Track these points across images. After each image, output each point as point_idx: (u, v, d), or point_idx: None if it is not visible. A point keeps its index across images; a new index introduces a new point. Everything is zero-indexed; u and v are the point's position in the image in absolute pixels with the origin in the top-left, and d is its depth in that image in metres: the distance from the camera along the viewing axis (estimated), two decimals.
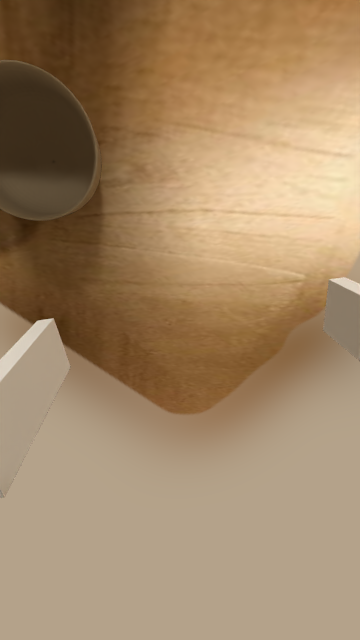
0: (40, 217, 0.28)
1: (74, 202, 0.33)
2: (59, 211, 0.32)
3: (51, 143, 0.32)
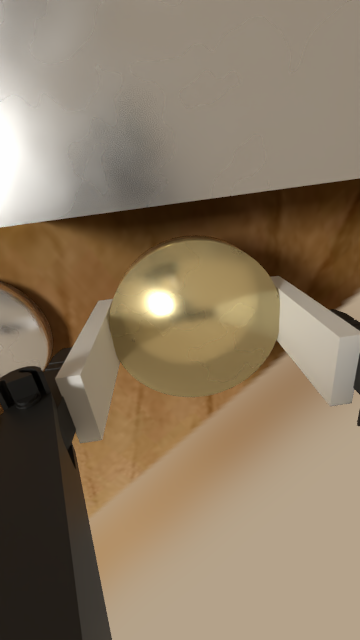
0: None
1: None
2: None
3: None
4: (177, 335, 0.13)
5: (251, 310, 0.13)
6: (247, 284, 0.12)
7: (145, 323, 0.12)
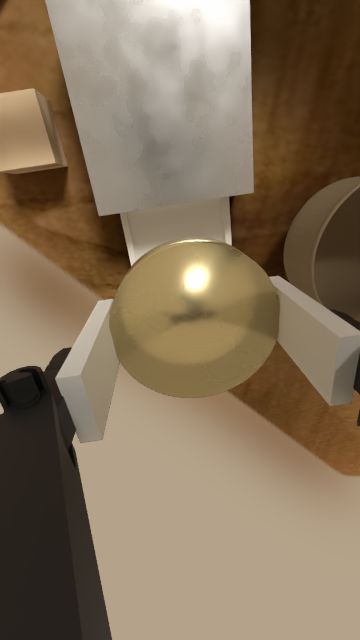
0: None
1: (347, 287, 0.30)
2: (337, 299, 0.29)
3: None
4: (177, 336, 0.13)
5: (251, 311, 0.13)
6: (247, 285, 0.12)
7: (145, 324, 0.12)
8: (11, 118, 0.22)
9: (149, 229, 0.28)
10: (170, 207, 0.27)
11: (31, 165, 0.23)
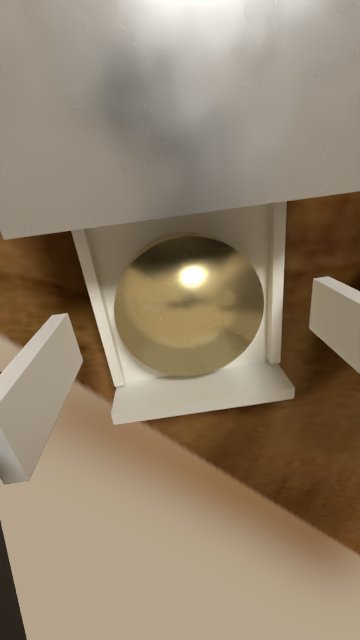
0: None
1: None
2: None
3: None
4: (173, 319, 0.15)
5: (238, 297, 0.14)
6: (234, 274, 0.14)
7: (145, 309, 0.14)
8: None
9: (131, 258, 0.15)
10: (171, 218, 0.14)
11: None
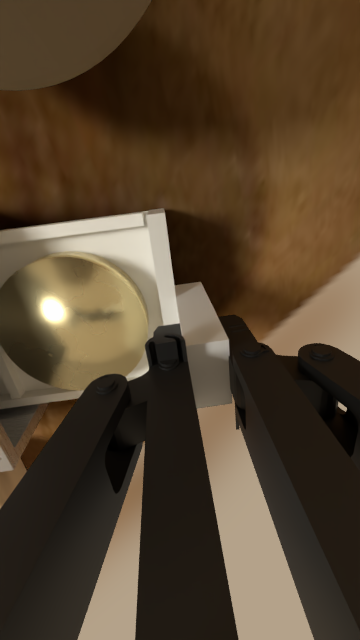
0: None
1: None
2: None
3: None
4: (83, 345, 0.15)
5: (39, 291, 0.14)
6: (17, 302, 0.14)
7: (80, 368, 0.16)
8: None
9: None
10: None
11: None
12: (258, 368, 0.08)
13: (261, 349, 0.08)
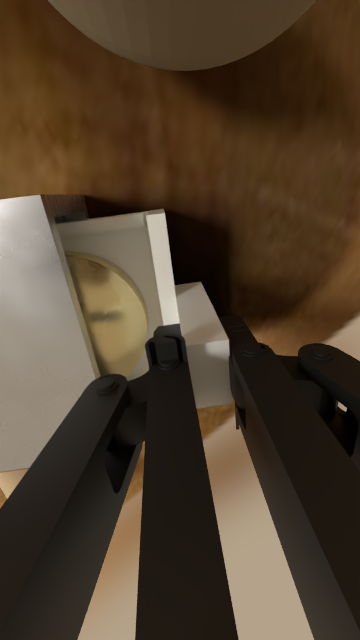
0: None
1: None
2: None
3: None
4: None
5: None
6: None
7: None
8: None
9: None
10: None
11: None
12: (258, 368, 0.08)
13: (261, 349, 0.08)
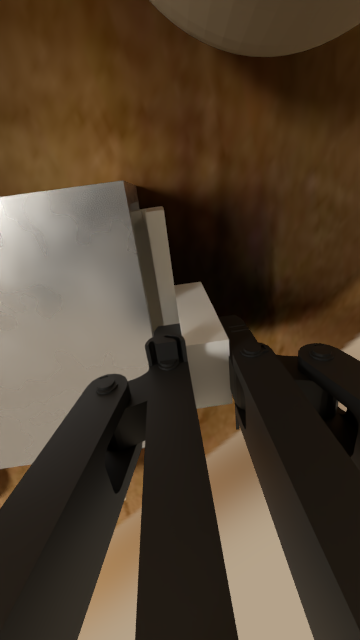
0: None
1: None
2: None
3: None
4: None
5: None
6: None
7: None
8: None
9: None
10: None
11: None
12: (258, 368, 0.08)
13: (261, 349, 0.08)
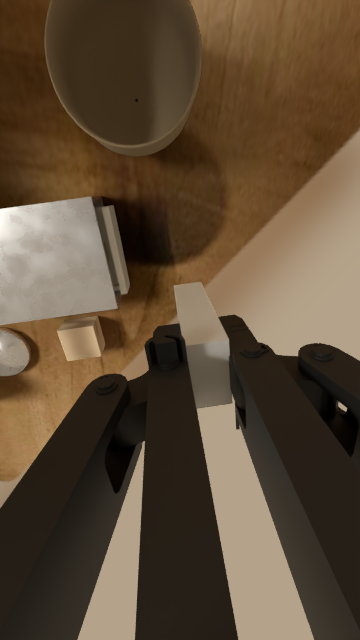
0: (198, 61, 0.23)
1: (178, 60, 0.27)
2: (188, 77, 0.27)
3: (119, 98, 0.30)
4: None
5: None
6: None
7: None
8: (73, 344, 0.39)
9: None
10: None
11: (95, 338, 0.39)
12: (258, 368, 0.08)
13: (261, 349, 0.08)
